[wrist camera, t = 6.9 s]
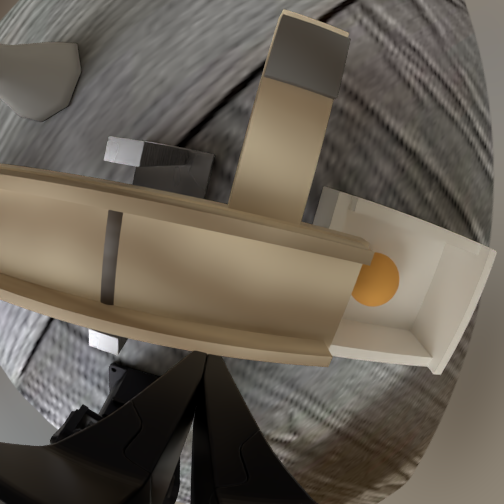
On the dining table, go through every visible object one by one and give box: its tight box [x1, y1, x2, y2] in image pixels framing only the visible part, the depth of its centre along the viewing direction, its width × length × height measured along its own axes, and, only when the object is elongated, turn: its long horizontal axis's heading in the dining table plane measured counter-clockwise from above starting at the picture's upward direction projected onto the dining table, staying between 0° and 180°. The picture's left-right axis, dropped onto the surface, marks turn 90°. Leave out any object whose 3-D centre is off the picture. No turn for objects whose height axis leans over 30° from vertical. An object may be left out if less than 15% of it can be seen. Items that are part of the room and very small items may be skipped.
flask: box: [0, 42, 81, 122], centre depth 12 cm, size 7×7×10 cm
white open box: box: [312, 186, 497, 375], centre depth 19 cm, size 10×12×6 cm
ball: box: [351, 252, 399, 307], centre depth 19 cm, size 4×4×4 cm
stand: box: [89, 136, 215, 355], centre depth 16 cm, size 10×5×9 cm, turn 166°
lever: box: [0, 9, 375, 367], centre depth 11 cm, size 15×22×6 cm
